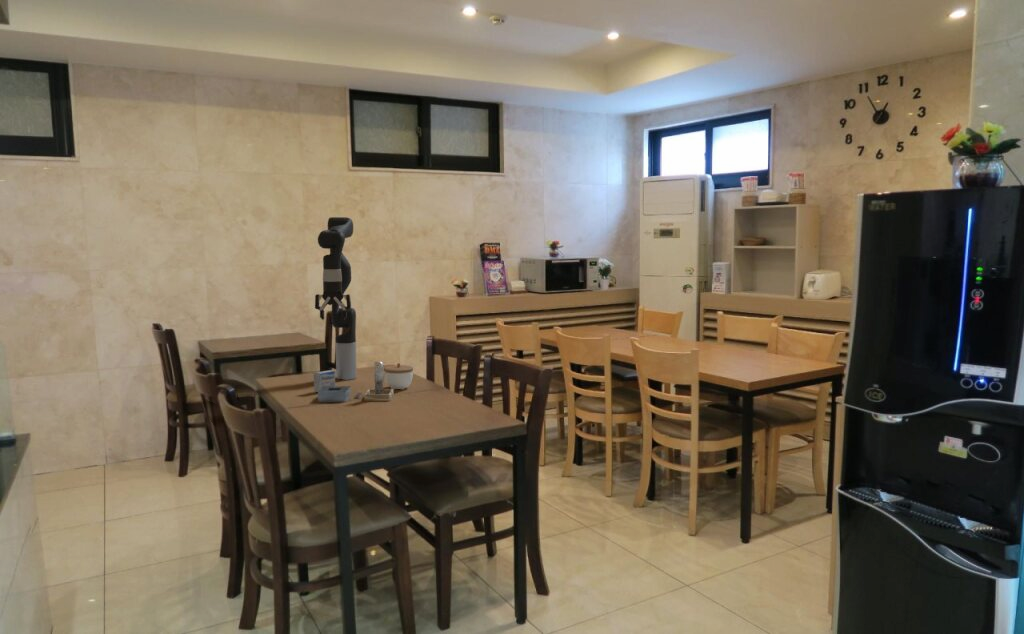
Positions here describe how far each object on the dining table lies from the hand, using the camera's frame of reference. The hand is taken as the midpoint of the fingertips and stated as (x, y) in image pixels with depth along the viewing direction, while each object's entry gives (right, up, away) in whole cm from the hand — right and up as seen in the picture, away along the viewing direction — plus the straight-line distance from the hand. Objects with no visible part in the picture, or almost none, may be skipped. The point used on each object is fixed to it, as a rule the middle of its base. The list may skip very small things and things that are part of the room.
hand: (333, 319), depth 279 cm
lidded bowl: (+24, -31, +19) cm, 43 cm away
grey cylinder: (+19, -32, 0) cm, 37 cm away
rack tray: (+19, -32, 0) cm, 38 cm away
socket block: (+1, -33, -2) cm, 33 cm away
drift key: (+10, -33, +2) cm, 34 cm away
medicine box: (-7, -31, +11) cm, 34 cm away
